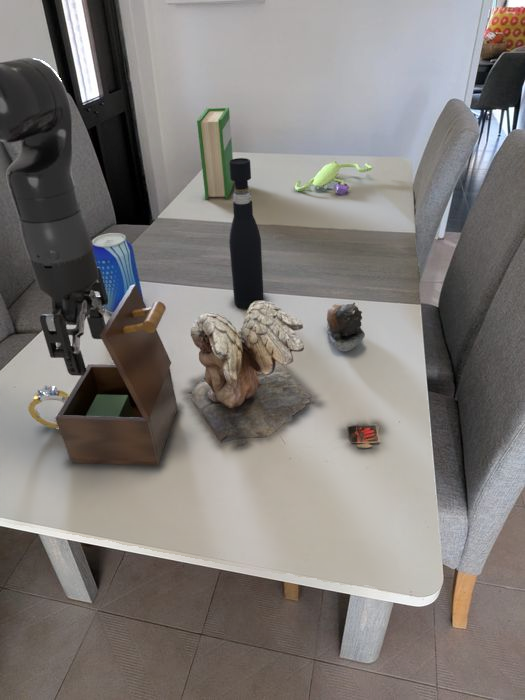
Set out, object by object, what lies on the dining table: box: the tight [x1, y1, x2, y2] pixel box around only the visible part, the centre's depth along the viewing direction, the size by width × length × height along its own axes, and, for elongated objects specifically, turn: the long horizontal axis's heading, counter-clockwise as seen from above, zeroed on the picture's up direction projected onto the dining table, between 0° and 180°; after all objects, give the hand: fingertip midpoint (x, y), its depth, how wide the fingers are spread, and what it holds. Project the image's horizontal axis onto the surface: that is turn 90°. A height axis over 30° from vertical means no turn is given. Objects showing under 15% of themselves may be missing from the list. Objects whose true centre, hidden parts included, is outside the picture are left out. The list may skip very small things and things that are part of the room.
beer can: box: [91, 232, 144, 315], centre depth 108 cm, size 8×8×16 cm
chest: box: [55, 363, 178, 467], centre depth 78 cm, size 13×13×9 cm
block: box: [86, 394, 134, 417], centre depth 79 cm, size 5×5×5 cm
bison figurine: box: [326, 302, 366, 352], centre depth 96 cm, size 12×7×10 cm, turn 3°
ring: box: [27, 384, 70, 431], centre depth 80 cm, size 7×3×8 cm, turn 86°
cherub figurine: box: [186, 300, 315, 448], centre depth 81 cm, size 18×18×18 cm
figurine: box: [294, 160, 373, 195], centre depth 173 cm, size 18×27×6 cm
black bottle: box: [228, 157, 265, 310], centre depth 104 cm, size 6×6×30 cm
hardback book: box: [196, 107, 235, 200], centre depth 168 cm, size 18×7×24 cm, turn 176°
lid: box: [100, 284, 172, 419], centre depth 70 cm, size 14×13×5 cm
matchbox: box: [346, 423, 380, 449], centre depth 78 cm, size 5×5×1 cm
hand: (89, 355), depth 72 cm, fingers open, 8 cm apart
